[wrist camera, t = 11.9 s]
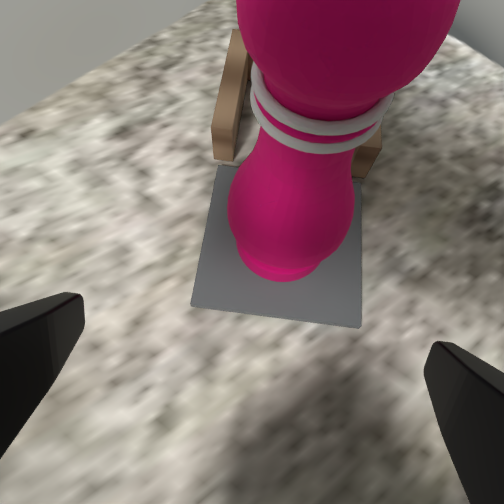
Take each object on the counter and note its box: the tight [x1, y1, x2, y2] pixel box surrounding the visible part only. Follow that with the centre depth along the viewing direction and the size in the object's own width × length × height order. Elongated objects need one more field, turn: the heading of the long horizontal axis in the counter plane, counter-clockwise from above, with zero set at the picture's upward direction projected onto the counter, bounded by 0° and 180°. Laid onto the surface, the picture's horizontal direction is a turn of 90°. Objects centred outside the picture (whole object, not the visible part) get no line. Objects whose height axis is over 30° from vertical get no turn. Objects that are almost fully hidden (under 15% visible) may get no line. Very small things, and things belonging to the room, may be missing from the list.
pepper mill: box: [227, 0, 460, 282], centre depth 15 cm, size 7×7×20 cm
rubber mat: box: [190, 165, 361, 329], centre depth 25 cm, size 11×11×1 cm
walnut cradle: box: [211, 29, 382, 178], centre depth 28 cm, size 10×12×4 cm
